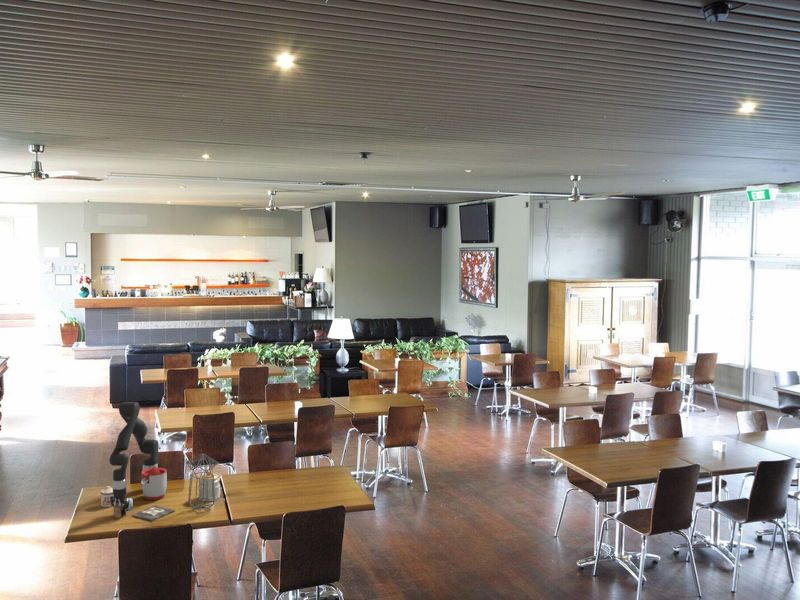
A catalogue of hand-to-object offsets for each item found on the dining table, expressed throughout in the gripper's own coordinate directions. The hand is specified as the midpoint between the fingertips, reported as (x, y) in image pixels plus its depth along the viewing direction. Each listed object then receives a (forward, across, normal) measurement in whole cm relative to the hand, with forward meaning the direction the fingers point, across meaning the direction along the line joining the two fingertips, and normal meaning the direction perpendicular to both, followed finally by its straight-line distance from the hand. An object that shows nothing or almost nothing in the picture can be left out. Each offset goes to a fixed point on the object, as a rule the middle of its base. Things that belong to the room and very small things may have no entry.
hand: (119, 514), depth 436 cm
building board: (+1, -15, -12) cm, 19 cm away
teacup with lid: (+1, +19, -10) cm, 21 cm away
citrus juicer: (+1, +6, -32) cm, 33 cm away
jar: (+1, -25, -49) cm, 55 cm away
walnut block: (+1, 0, 0) cm, 1 cm away
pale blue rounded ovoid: (+1, +4, -10) cm, 11 cm away
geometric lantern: (+1, -35, -32) cm, 47 cm away
